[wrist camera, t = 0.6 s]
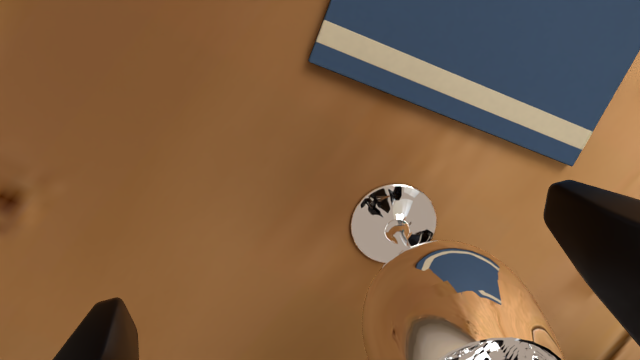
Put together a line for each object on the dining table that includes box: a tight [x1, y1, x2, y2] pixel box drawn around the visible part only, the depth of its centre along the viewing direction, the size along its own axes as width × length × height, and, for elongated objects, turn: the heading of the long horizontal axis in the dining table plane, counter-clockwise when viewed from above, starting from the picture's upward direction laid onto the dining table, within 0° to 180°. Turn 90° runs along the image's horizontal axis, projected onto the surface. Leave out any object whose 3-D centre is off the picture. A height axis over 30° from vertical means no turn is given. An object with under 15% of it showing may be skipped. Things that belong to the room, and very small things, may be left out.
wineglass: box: [351, 183, 565, 360], centre depth 18 cm, size 6×6×12 cm
